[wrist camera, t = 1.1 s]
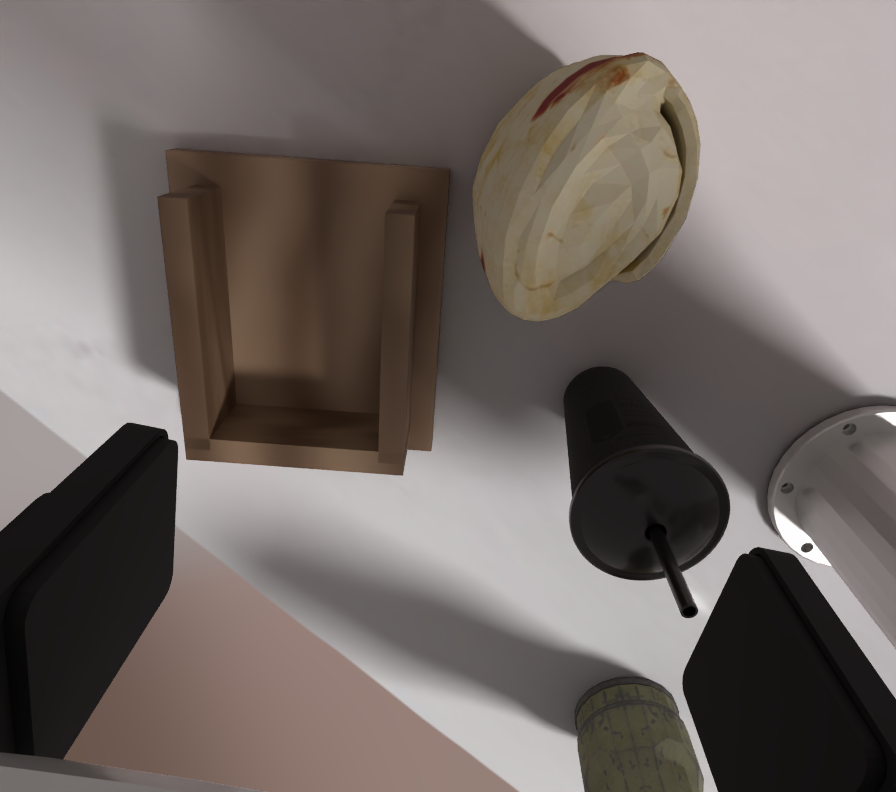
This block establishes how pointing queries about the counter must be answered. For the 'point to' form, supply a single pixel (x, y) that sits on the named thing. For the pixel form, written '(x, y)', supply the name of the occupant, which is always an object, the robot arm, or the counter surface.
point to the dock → (304, 307)
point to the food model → (584, 183)
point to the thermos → (634, 740)
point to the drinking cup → (638, 486)
